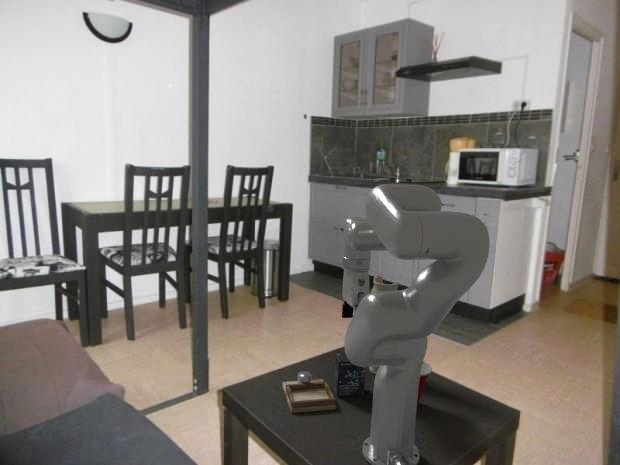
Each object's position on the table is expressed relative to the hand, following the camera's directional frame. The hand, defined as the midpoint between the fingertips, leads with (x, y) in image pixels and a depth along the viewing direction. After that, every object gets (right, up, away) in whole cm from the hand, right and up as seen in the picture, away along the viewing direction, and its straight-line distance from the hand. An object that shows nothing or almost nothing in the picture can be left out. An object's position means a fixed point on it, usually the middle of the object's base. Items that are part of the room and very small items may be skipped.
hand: (352, 323), depth 124 cm
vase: (+10, -18, +17) cm, 27 cm away
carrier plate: (-12, -20, 0) cm, 23 cm away
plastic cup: (+15, -22, -2) cm, 26 cm away
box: (-1, -20, +3) cm, 20 cm away
